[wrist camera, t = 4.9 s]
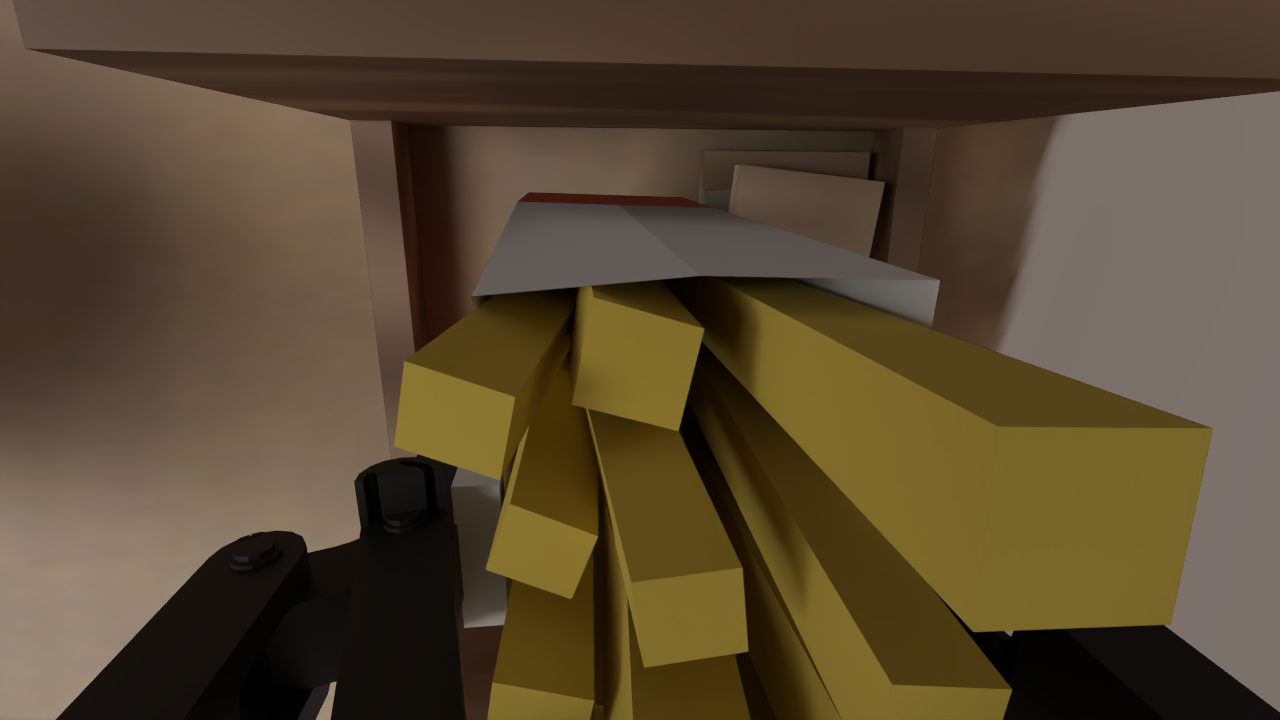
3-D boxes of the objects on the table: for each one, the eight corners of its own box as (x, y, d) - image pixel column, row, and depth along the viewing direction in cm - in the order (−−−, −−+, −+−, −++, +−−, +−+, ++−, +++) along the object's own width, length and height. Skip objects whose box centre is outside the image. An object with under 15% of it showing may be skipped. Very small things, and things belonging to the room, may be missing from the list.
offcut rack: (364, 75, 21) (-11, -94, 7) (912, 87, 23) (1408, -30, 9) (419, 561, 26) (261, 974, 13) (857, 535, 28) (1119, 869, 15)
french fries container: (525, 506, 22) (390, 1687, 5) (519, 187, 19) (65, 461, 2) (654, 503, 23) (927, 1558, 6) (670, 192, 19) (1451, 439, 2)
